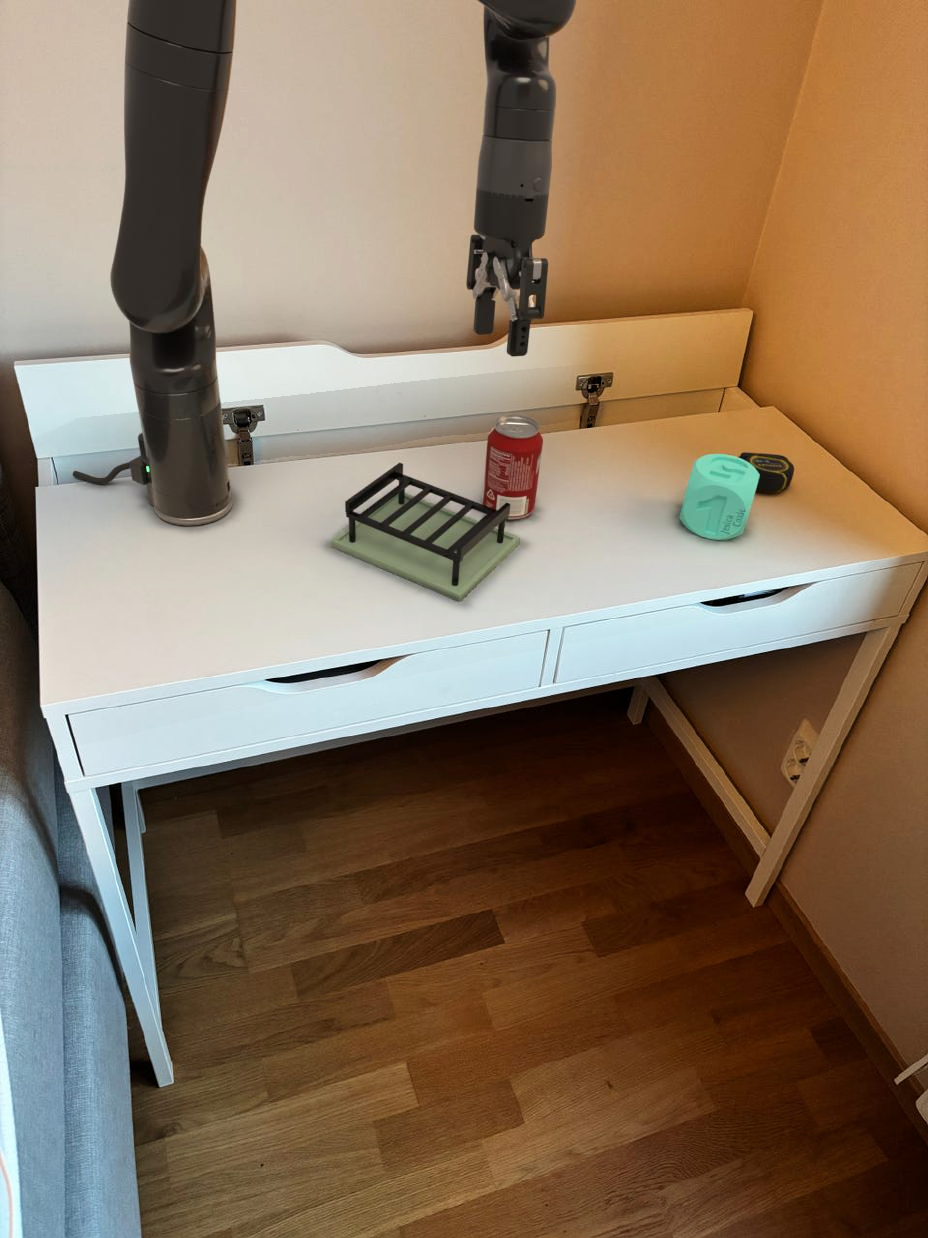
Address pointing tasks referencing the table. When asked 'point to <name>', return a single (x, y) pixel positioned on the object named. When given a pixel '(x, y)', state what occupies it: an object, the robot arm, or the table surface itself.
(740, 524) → the decorative dice
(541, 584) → the table surface
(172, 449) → the robot arm
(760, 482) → the tape measure
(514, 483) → the soda can
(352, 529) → the drying rack
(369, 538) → the drip tray
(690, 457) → the table surface
